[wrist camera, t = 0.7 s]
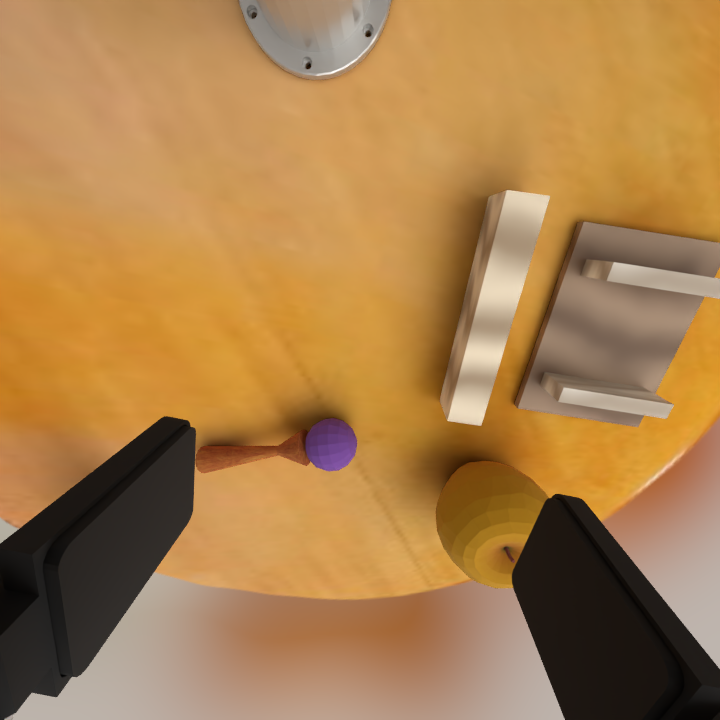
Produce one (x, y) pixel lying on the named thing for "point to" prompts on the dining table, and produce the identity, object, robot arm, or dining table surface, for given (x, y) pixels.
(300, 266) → the dining table surface
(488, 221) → the beech bar
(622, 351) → the rail rest
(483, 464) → the apple
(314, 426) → the kendama
